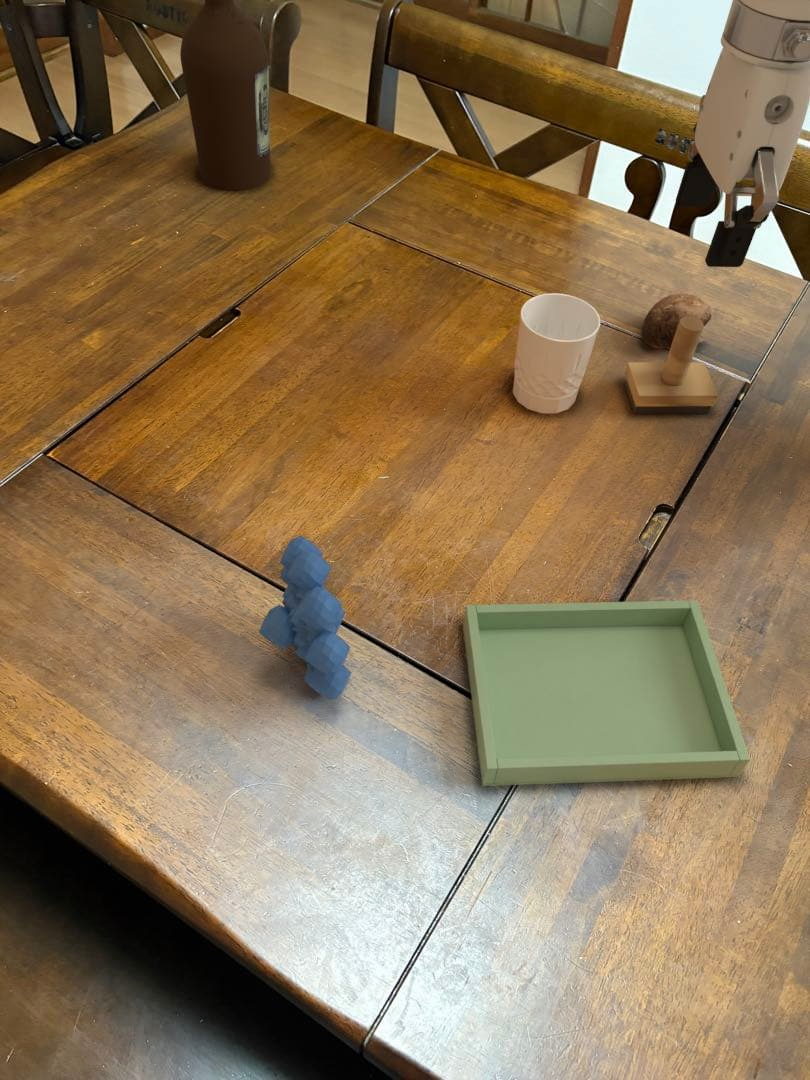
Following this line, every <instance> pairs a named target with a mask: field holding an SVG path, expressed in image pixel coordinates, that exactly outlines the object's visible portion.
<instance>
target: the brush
mask: <svg viewBox="0 0 810 1080" xmlns="http://www.w3.org/2000/svg"><path fill="white" fill-rule="evenodd" d="M704 327H705V326H704V324H703V322H702V321H701V320H700V319H698V318H696V317H692V316H686V317H683V318H681V319H680V321H679V324H678V327H677V330H676V333H675V336H674V339H673V342H672V345H671V346H670V348H669V351H668V354H667V357H666V361H665V362H664V361H663V362H662V361H661V362H660V361H659V362H658V361H653V362H651V361H650V362H647V361H645V362H644V361H643V362H639V361H638V362H635V361H631V362H630V361H629V362H627V364H626V367H625V370H624V375H625V379H624V382H623V384H624V387H625V390H626V394H627V397H628V400H629V403H630V406H631V409H632V412H633V414H634V415H708V414H709V413H710V410H711V408H712V407H715V405H716V403H717V400H718V397H719V393H718V391H717V389H716V386H715V384H714V382H713V380H712V377H711V374H710V372H709V370H708V367H707V365H706V362H704V361H699V362H697V361H696V362H695V361H692V360H693V357H694V355H695V352H696V350H697V348H698V347H697V346H698V345H699V344H698V341H699V338H700V336H701V337H702V333H703V330H704Z"/></svg>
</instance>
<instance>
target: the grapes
mask: <svg viewBox="0 0 810 1080" xmlns="http://www.w3.org/2000/svg"><path fill="white" fill-rule="evenodd" d="M323 554H324V552H323V551H322V550H321V549H320V548H319V547H318V546H317V545H316V544H314V543H313V542H312V541H311V540H309V539H308V538H306V537H304V536H301V535H298V536H296V537H295V538H293V539H291V540H290V541H289V542H288V544H287V546H286V547H285V549H284V551H283V554H282V556H281V559H280V561H279V563H280V564H281V565H282V566H283V568H282V571H281V573H280V575H279V579H280V580H282V581H283V582H284V584H285V585H287V586H286V588H285V589H284V592H283V594H282V598H283V599H282V602H281V604H283V606H282V605H280V604H278V605H276V606H273V607H272V608H270V609H269V611H268V612H267V614H266V615H265V617H264V619H263V621H262V624H261V626H260V630H259V634H260V635H261V636H263V637H264V638H265V639H266V640H267V641H268V642H269V643H270V644H271V645H274V646H276V647H278V648H280V649H283V650H284V649H287V648H289V647H290V646H292V645H293V646H294V649H293V653H294V654H295V655H296V656H297V657H298V658H300V659H302V660H303V661H304V662H305V663H306V668H307V669H306V672H305V674H304V677H303V681H304V683H306V685H308V686H310V688H311V689H312V690H314V691H315V692H316V693H318V694H319V695H320V696H322V697H324V698H326V699H328V700H331V701H333V700H337V699H338V698H340V696H341V695H342V694H343V693H344V691H345V689H346V688H347V685H348V682H349V680H350V677H351V674H352V672H351V670H349V668H347V667H346V666H345V665H344V664H345V663H346V659H347V657H348V654H349V652H350V649H351V646H350V645H349V643H347V641H345V640H344V639H343V638H342V637H340V636H339V634H337V633H338V631H339V629H340V627H341V624H342V622H343V620H344V617H345V614H346V611H345V610H344V608H343V603H342V602H341V601H340V600H339V599H338V598H337V597H336V596H335V595H334V594H332V592H330V591H328V590H327V589H326V586H325V585H324V584H325V583H326V581H327V579H328V576H329V573H330V571H331V570H332V566H331V564H330V563H329V562H328V561H327V560H326V559H324V557H323Z"/></svg>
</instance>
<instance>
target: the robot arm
mask: <svg viewBox="0 0 810 1080" xmlns="http://www.w3.org/2000/svg"><path fill="white" fill-rule="evenodd" d="M728 11H729V12H728V15H727V19H726V22H725V25H724V28H723V32H722V35H721V37H720V44H721V46H722V49H721V51H720V54H719V56H718V59H717V61H716V64H715V67H714V69H713V72H712V75H711V78H710V80H709V83H708V86H707V89H706V92H705V94H702V96H701V98H700V102H699V109H698V110H699V111H698V118H697V121H696V123H695V124H694V127H693V133H694V135H693V136H694V137H693V138H694V139H693V143H692V144H691V145H690V147H689V148H688V152H687V159H688V161H686V165H685V168H684V171H683V174H682V178H681V181H680V184H679V188H678V190H677V194H676V197H675V203H676V205H677V206H679V207H709V206H710V205H711V203H712V202H713V201H712V200H713V197H714V195H715V191H716V189H717V187H718V188H719V189H720V190H721V192H722V193H724V194H725V196H724V213H723V217H724V218H723V220H718V222H717V224H716V227H715V229H714V230H715V231H714V233H713V236H712V239H711V241H710V245H709V247H708V250H707V253H706V256H705V259H704V262H705V264H706V266H707V267H708V268H709V267H710V268H739V267H741V266H742V265H743V264H744V263H745V259H746V257H747V254H748V251H749V249H750V246H751V244H752V241H753V239H754V236H755V233H756V230H757V229H760V228H761V226H762V224H763V223H765V222H766V221H767V220H768V218H769V216H770V213H772V211H773V210H774V208H775V207H776V206H777V205H778V203H779V199H780V190H781V189H782V186H783V184H784V181H785V179H786V176H787V173H788V170H789V168H790V165H791V163H792V159H793V157H794V153H795V150H796V147H797V145H798V141H799V139H800V136H801V132H802V129H803V126H804V122H805V120H806V116H807V112H808V108H809V105H810V0H732V2H731V5H730V7H729V10H728ZM742 181H753V185H737V184H738V183H740V182H742ZM738 197H750V204H749V205H744V206H742V207H741V208H739V209H738V199H739V198H738Z"/></svg>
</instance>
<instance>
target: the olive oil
mask: <svg viewBox="0 0 810 1080" xmlns="http://www.w3.org/2000/svg"><path fill="white" fill-rule="evenodd" d="M263 37H264V36H263V35H262V33H261V31H260V30H259V29H258V27H257V26H256V25H255V24H254V23H253V22H252V21H251V20H250V19H249V18H248V17H247V15H246V14H244V12H243V11H241V9H240V8H239V7H237V5H236V4H235V1H234V0H204V4H203V6H202V7H201V8H200V10H199V11H198V13H197V14H196V15H195V16H194V18H193V19H192V20H191V21H190V23H189V24H188V26H187V27H186V29H185V30H184V33H183V35H182V39H181V45H180V54H179V55H180V63H181V70H182V76H183V80H184V81H183V82H184V85H185V91H186V96H187V103H188V108H189V113H190V117H191V118H190V119H191V124H192V130H193V136H194V142H195V148H196V155H197V161H198V168H199V174H200V178H201V180H202V181H203V182H204V183H205V184H206V185H208V186H209V187H211V188H213V189H216V190H220V191H227V192H244V191H249V190H253V189H257V188H259V187H261V186H263V185H264V184H266V183H267V182H268V181H269V180H270V178H271V175H272V173H271V172H272V171H271V170H272V169H271V166H272V165H271V138H270V136H271V135H270V134H271V132H270V129H271V128H270V62H269V53H268V48H267V44H266V42H265V40H264V38H263Z"/></svg>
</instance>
